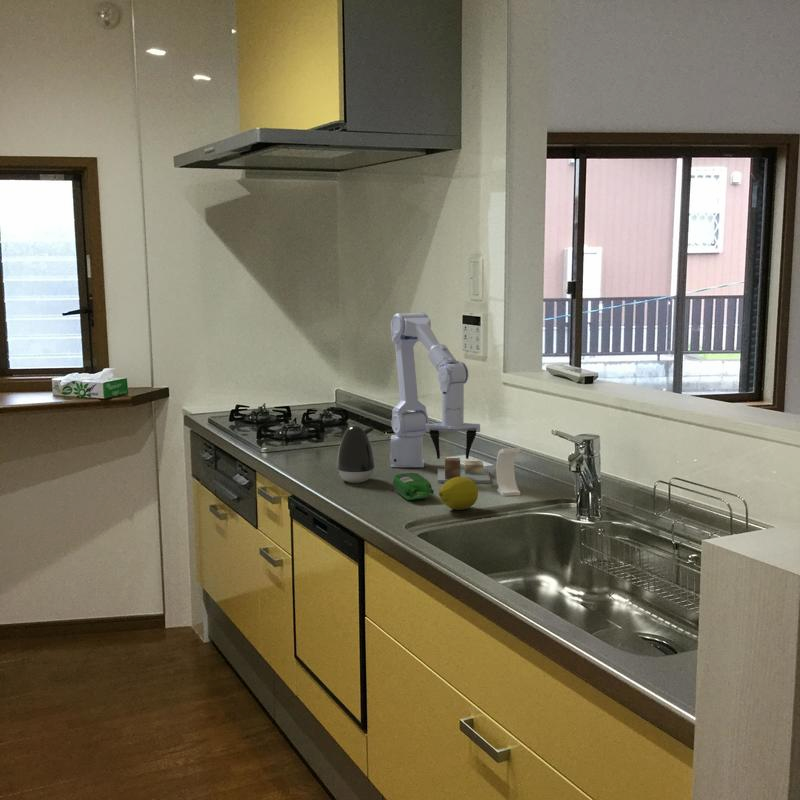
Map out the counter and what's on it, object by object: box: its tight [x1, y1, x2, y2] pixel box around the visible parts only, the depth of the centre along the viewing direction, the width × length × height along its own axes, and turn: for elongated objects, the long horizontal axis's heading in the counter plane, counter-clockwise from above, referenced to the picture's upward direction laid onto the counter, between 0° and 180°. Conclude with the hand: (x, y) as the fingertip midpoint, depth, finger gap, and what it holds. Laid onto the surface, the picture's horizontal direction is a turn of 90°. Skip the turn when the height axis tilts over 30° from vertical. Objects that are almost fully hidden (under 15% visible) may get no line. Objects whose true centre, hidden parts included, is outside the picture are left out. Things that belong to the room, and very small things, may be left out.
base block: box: [464, 460, 484, 474], centre depth 263 cm, size 5×5×2 cm
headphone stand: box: [495, 447, 522, 497], centre depth 242 cm, size 5×6×12 cm
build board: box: [437, 468, 491, 484], centre depth 260 cm, size 14×14×1 cm
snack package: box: [392, 472, 435, 501], centre depth 239 cm, size 7×16×5 cm, turn 16°
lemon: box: [438, 477, 479, 511], centre depth 226 cm, size 11×8×8 cm
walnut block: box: [444, 457, 461, 479], centre depth 256 cm, size 4×4×5 cm
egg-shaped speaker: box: [336, 424, 375, 484], centre depth 255 cm, size 10×10×15 cm
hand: (452, 457), depth 255 cm, fingers open, 7 cm apart
